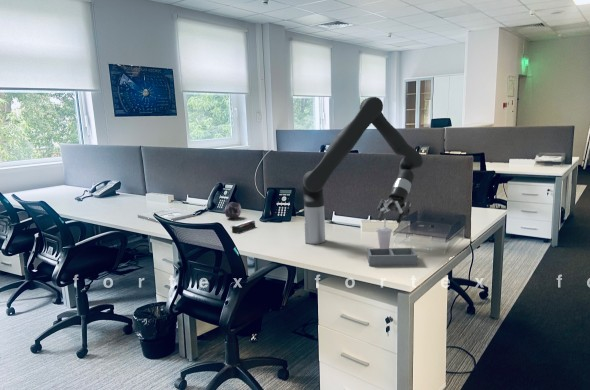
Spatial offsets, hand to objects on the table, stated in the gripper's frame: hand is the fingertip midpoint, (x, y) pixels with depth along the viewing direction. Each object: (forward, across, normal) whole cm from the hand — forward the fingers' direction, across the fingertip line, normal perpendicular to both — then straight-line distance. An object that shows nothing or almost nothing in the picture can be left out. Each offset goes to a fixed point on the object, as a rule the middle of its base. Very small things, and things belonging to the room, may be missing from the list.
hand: (388, 221), depth 182 cm
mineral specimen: (+5, -105, +13) cm, 106 cm away
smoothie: (+12, 0, +6) cm, 13 cm away
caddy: (+19, +9, -2) cm, 21 cm away
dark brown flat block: (+15, -79, +4) cm, 81 cm away
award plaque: (+17, -148, 0) cm, 149 cm away
